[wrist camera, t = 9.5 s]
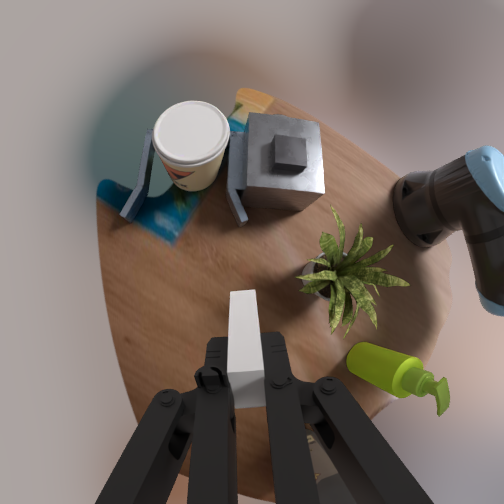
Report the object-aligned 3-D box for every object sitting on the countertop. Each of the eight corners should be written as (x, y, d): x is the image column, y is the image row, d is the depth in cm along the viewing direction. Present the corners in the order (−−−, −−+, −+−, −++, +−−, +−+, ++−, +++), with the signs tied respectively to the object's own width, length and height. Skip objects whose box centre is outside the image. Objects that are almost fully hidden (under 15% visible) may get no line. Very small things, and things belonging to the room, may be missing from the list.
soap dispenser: (354, 384, 40) (430, 429, 21) (341, 353, 41) (423, 390, 21) (379, 366, 42) (460, 397, 22) (368, 335, 42) (455, 357, 22)
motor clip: (302, 231, 42) (332, 213, 31) (126, 223, 38) (99, 202, 27) (299, 140, 44) (322, 104, 33) (141, 130, 40) (127, 91, 29)
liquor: (334, 438, 39) (434, 533, 9) (304, 472, 37) (378, 578, 8) (296, 423, 38) (394, 543, 9) (265, 459, 36) (326, 589, 7)
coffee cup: (153, 164, 39) (137, 124, 28) (201, 133, 41) (201, 88, 29) (186, 208, 39) (178, 179, 28) (235, 174, 41) (246, 135, 30)
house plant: (246, 263, 40) (272, 249, 24) (314, 210, 43) (368, 173, 27) (303, 336, 40) (356, 363, 24) (363, 280, 43) (432, 276, 27)
